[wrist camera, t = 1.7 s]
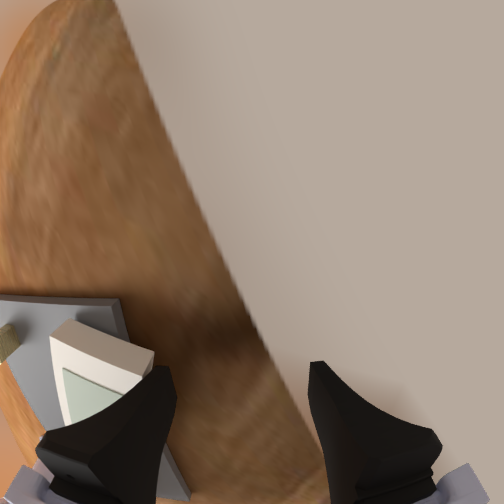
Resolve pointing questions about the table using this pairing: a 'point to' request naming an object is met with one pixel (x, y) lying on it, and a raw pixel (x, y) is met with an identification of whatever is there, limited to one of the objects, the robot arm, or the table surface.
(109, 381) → the frame
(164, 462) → the board
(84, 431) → the robot arm
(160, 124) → the table surface
